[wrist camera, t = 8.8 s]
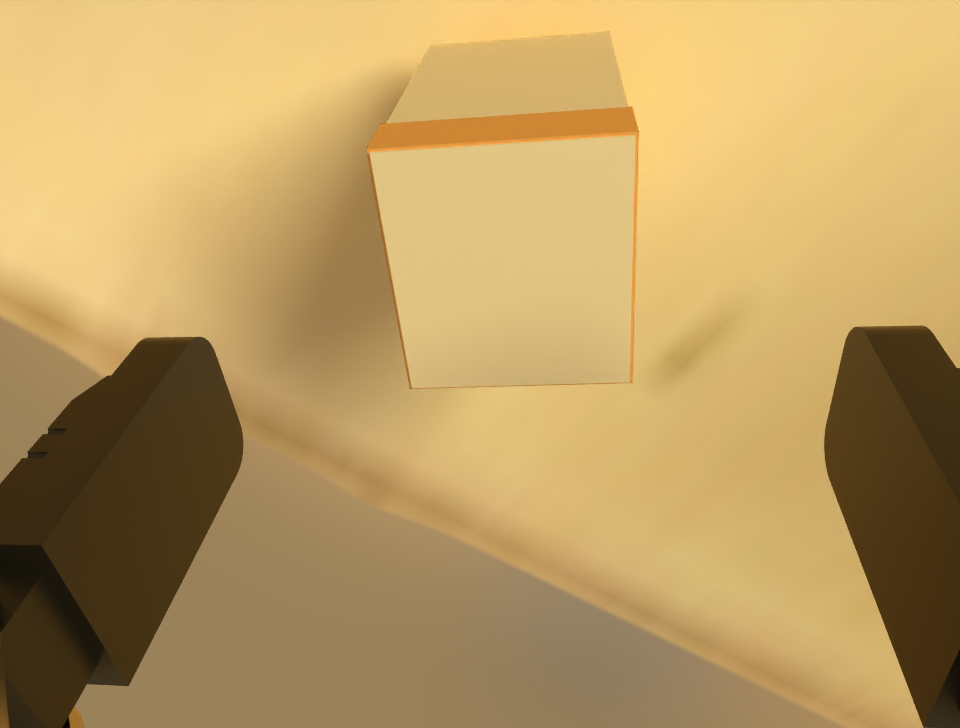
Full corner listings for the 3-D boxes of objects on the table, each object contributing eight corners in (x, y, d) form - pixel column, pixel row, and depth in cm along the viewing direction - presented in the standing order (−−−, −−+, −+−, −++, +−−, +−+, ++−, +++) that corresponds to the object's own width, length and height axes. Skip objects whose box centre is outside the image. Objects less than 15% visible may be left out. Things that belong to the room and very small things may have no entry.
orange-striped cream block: (611, 28, 17) (638, 131, 11) (610, 222, 19) (632, 385, 14) (427, 43, 17) (365, 150, 12) (451, 230, 20) (409, 390, 14)
